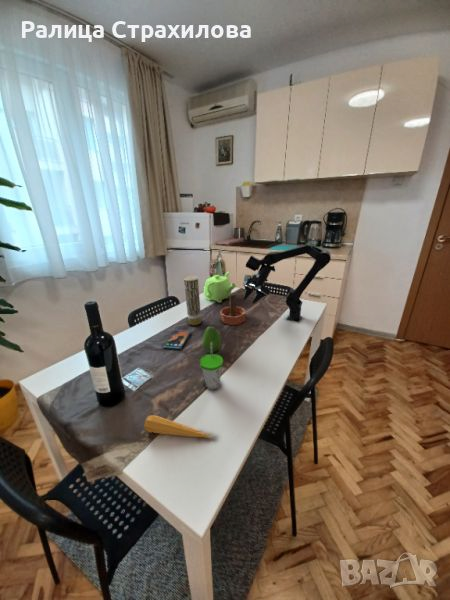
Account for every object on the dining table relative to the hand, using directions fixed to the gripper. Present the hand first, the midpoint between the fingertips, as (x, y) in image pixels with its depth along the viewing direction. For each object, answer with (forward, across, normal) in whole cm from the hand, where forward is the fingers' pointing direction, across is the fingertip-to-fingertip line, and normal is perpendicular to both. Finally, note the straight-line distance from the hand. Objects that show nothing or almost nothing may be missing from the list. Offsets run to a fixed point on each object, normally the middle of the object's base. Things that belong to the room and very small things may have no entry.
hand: (248, 301), depth 125 cm
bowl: (+13, -4, 0) cm, 13 cm away
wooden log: (+24, -10, -16) cm, 31 cm away
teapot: (+5, -35, +4) cm, 36 cm away
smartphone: (+32, +2, -26) cm, 41 cm away
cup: (+33, +37, -20) cm, 53 cm away
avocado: (+27, +18, -15) cm, 36 cm away
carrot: (+43, +50, -32) cm, 74 cm away
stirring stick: (+12, -4, -1) cm, 13 cm away
